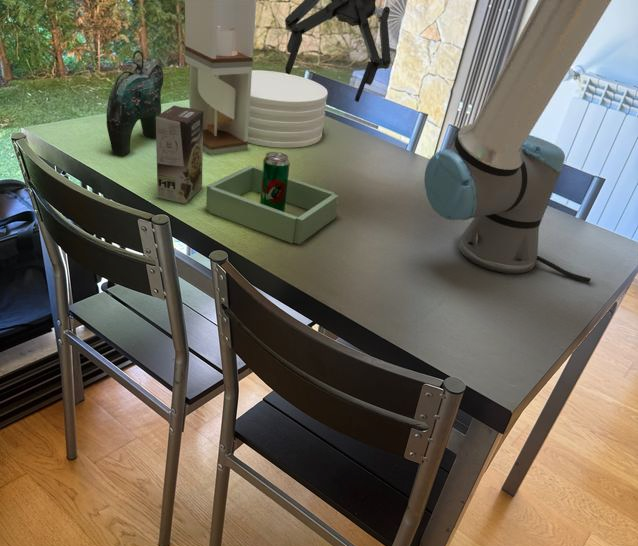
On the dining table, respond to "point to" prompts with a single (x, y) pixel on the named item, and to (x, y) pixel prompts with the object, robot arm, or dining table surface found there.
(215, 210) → the bin
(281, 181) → the soda can
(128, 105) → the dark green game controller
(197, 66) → the white tower
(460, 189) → the robot arm
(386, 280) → the dining table surface
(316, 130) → the plate stack
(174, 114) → the coffee box
